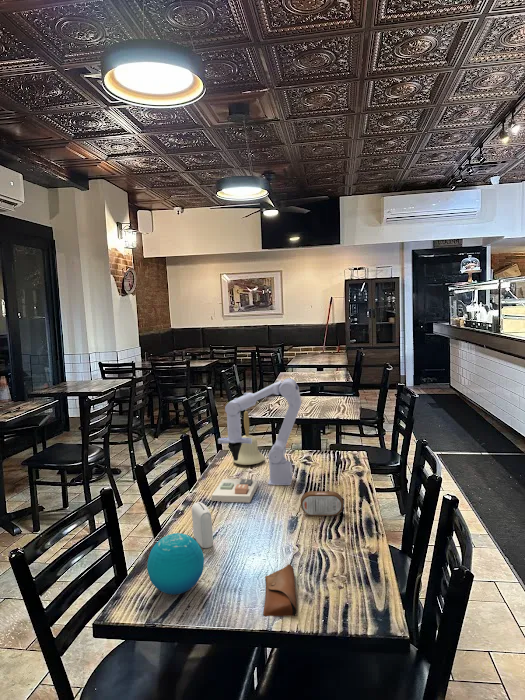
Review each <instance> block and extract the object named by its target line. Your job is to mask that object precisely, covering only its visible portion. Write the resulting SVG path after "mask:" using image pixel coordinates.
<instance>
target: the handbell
mask: <svg viewBox="0 0 525 700" xmlns="http://www.w3.org/2000/svg"><path fill="white" fill-rule="evenodd" d="M243 427H244V433H245V435H241V437H243V438H252V444H249V443H242V445H241V448H240V451H239V455H238V460H237V461H234V458H232V462H233V463H235V464H236V465H237V464H238V465H243V466H244V465H245V466H247V465H255V464H259V463H260V464H261V463H262V462H263V461H264V460H265V455H264V454H263V453H262V452H261V451H259V449H258V440H257V437H255V436H254V435H251V434H250V417H249V412H248V411H245V410H244V412H243Z"/></svg>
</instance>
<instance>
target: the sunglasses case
mask: <svg viewBox="0 0 525 700" xmlns="http://www.w3.org/2000/svg"><path fill="white" fill-rule="evenodd" d="M264 578H265V581H264V582H265V593H264V595H265V598H264V606H263V610H262V611H263V613H262V616H264V617H282V616H283V617H293V616H294V617H296V615H297V613H298V612H297V611H298V608H297V605H298V604H297V591H296V580H295V579H296V578H295V570H294V567H293V566H292V565H291V564H289V563H288V564H287V565H286V566H284V567H283V568H281V569H279V570H276V571H275V572H272V573H270V574H268V575H265V577H264Z"/></svg>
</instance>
